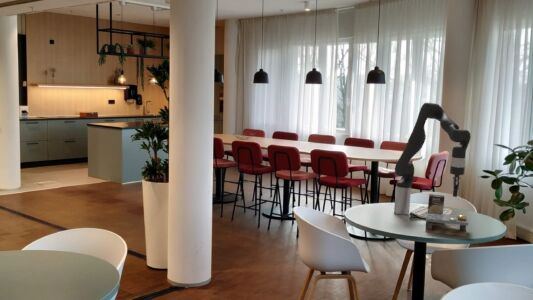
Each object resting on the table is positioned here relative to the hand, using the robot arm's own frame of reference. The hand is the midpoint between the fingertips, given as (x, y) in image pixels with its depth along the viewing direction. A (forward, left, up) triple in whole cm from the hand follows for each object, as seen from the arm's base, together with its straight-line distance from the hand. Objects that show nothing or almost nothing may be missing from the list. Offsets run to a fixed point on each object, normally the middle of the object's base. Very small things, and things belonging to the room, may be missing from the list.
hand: (454, 196), depth 302 cm
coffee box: (-9, +24, -21) cm, 33 cm away
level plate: (-3, +5, -15) cm, 16 cm away
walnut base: (-3, +5, -21) cm, 22 cm away
